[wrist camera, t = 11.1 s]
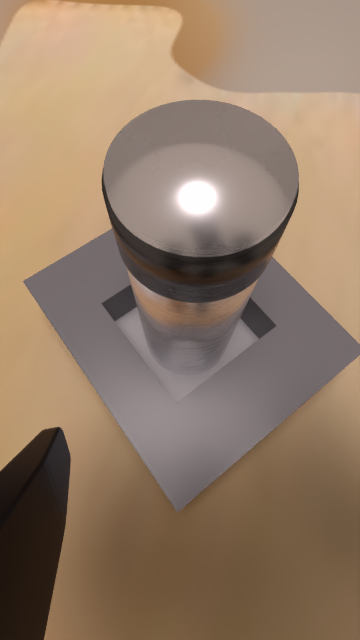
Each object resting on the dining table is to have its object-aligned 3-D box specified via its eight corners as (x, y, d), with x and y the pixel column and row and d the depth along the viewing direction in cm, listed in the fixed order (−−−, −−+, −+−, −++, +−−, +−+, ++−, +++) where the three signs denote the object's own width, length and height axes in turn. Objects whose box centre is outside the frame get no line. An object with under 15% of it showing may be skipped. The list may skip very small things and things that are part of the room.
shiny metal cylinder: (243, 316, 21) (329, 135, 9) (207, 392, 20) (257, 288, 8) (168, 283, 22) (158, 76, 10) (128, 352, 20) (58, 202, 8)
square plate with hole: (332, 369, 21) (365, 350, 18) (177, 501, 18) (177, 512, 15) (192, 220, 25) (195, 179, 22) (48, 310, 23) (22, 281, 19)
